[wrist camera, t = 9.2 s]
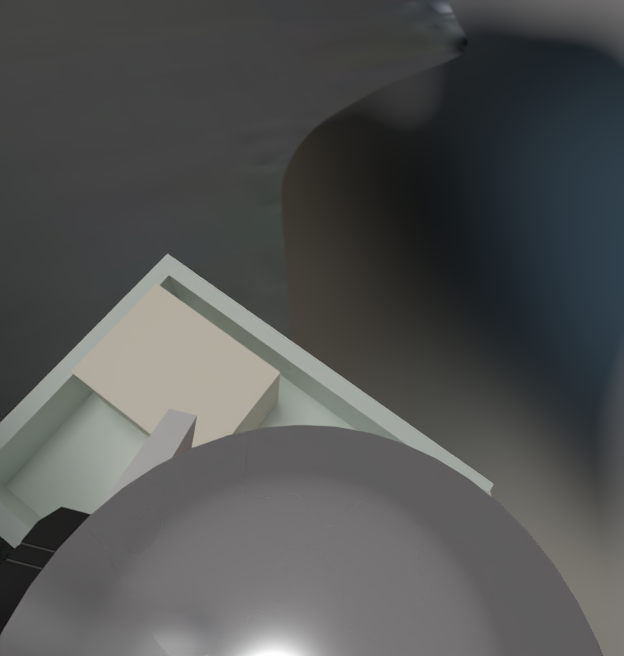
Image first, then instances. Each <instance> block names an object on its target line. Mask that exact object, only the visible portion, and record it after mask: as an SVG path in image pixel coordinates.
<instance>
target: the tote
mask: <svg viewBox="0 0 624 656" xmlns="http://www.w3.org/2000/svg"><path fill="white" fill-rule="evenodd" d="M156 283H157V284H158V285H160V286H161V287H163V288H164V289H165V290H167V291H168V292H170V293H171V294H172V295H174V296H175V297H176V298H178V299H179V300H181V301H182V302H183V303H185V304H186V305H188V306H189V307H190V308H192V309H193V310H195V311H196V312H197V313H199V314H200V315H201V316H203V317H204V318H206V319H207V320H208V321H210V322H211V323H213V324H214V325H215V326H217V327H218V328H220V329H221V330H222V331H224V332H225V333H226V334H228V335H229V336H231V337H232V338H233V339H235V340H236V341H238V342H239V343H240V344H242V345H243V346H244V347H246V348H247V349H249V350H250V351H251V352H253V353H254V354H256V355H257V356H258V357H260V358H261V359H263V360H264V361H265V362H267V363H268V364H269V365H271V366H272V367H274V368H275V369H276V370H278V371H279V372H280V382H279V392H278V402H277V404H276V405H275V407H274V408H273V409H272V411H271V412H270V413H269V414H268V416H267V417H266V418H265V420H264V421H263V422H262V424H261V425H260V426H259V427H258V429H260V428H266V427H278V426H290V425H314V426H335V427H341V428H346V429H352V430H357V431H363V432H368V433H372V434H375V435H378V436H382V437H385V438H388V439H391V440H394V441H397V442H401V443H404V444H406V445H408V446H410V447H412V448H415V449H417V450H419V451H421V452H423V453H425V454H428V455H430V456H432V457H434V458H436V459H438V460H440V461H441V462H443V463H445V464H446V465H448V466H449V467H451V468H453V469H454V470H456V471H457V472H459V473H461V474H462V475H464V476H465V477H467V478H469V479H470V480H471V481H472V482H474V483H475V484H476V485H477V486H479V487H480V488H481V489H483V490H486V491H490V490H491V488H492V486H493V483H492V482H490V481H489V480H487V479H486V478H485V477H483V476H482V475H480V474H479V473H477V472H476V471H475V470H473V469H472V468H470V467H469V466H468V465H466V464H465V463H463V462H462V461H460V460H459V459H458V458H456V457H455V456H453V455H452V454H451V453H449V452H448V451H446V450H445V449H443V448H442V447H441V446H439V445H438V444H436V443H435V442H434V441H432V440H431V439H429V438H428V437H426V436H425V435H424V434H422V433H421V432H419V431H418V430H417V429H415V428H414V427H412V426H411V425H409V424H408V423H407V422H405V421H404V420H402V419H401V418H400V417H398V416H397V415H395V414H394V413H392V412H391V411H390V410H388V409H387V408H385V407H384V406H383V405H381V404H380V403H378V402H377V401H375V400H374V399H373V398H371V397H370V396H368V395H367V394H365V393H364V392H363V391H361V390H360V389H358V388H357V387H356V386H354V385H353V384H351V383H350V382H348V381H347V380H346V379H344V378H343V377H341V376H340V375H339V374H337V373H335V372H334V371H333V370H332V369H330V368H329V367H327V366H326V365H324V364H323V363H322V362H320V361H319V360H317V359H316V358H315V357H313V356H312V355H310V354H309V353H307V352H306V351H305V350H303V349H302V348H300V347H299V346H298V345H296V344H294V343H293V342H292V341H290V340H289V339H288V338H286V337H285V336H283V335H282V334H281V333H279V332H278V331H276V330H275V329H274V328H272V327H271V326H269V325H268V324H266V323H265V322H264V321H262V320H261V319H259V318H258V317H257V316H255V315H254V314H252V313H251V312H249V311H248V310H247V309H245V308H244V307H242V306H241V305H240V304H238V303H237V302H235V301H234V300H232V299H231V298H230V297H228V296H227V295H225V294H224V293H223V292H221V291H220V290H218V289H217V288H215V287H214V286H213V285H211V284H210V283H208V282H207V281H206V280H204V279H203V278H201V277H200V276H198V275H197V274H196V273H194V272H193V271H191V270H190V269H189V268H187V267H186V266H184V265H183V264H181V263H180V262H179V261H177V260H176V259H174V258H173V257H172V256H170V255H169V254H167V255H166V256H165V257H164V258H163V259H162V260H161V261H160V262H159V263H158V264H157V265H156V266H155V267H154V268H153V269H152V270H151V271H150V272H149V273H148V274H147V275H146V276H145V277H144V278H143V279H142V280H141V281H140V282H139V283H138V284H137V285H136V286H135V287H134V288H133V289H132V290H131V291H130V292H129V293H128V294H127V295H126V296H125V297H124V298H123V299H122V300H121V301H120V302H119V303H118V304H117V305H116V306H115V307H114V308H113V309H112V310H111V311H110V312H109V313H108V314H107V315H106V316H105V317H104V318H103V319H102V320H101V321H100V322H99V323H98V324H97V325H96V326H95V327H94V328H93V329H92V331H91V332H90V333H89V334H88V335H87V336H86V337H85V338H84V339H83V340H82V341H81V342H80V343H79V344H78V345H77V346H76V347H75V348H74V349H73V350H72V351H71V352H70V353H69V354H68V355H67V356H66V357H65V358H64V359H63V360H62V361H61V362H60V363H59V364H58V365H57V366H56V367H55V368H54V369H53V370H52V371H51V372H50V373H49V374H48V375H47V376H46V377H45V378H44V379H43V380H42V381H41V382H40V383H39V384H38V385H37V386H36V387H35V388H34V389H33V390H32V391H31V392H30V393H29V394H28V395H27V396H26V397H25V398H24V399H23V400H22V401H21V402H20V403H19V404H18V405H17V406H16V407H15V408H14V409H13V410H12V411H11V412H10V413H9V414H8V415H7V416H6V417H5V418H4V419H3V420H2V421H1V422H0V536H1V537H2V538H3V539H4V540H5V541H7V542H8V543H9V544H10V545H11V546H12V547H13V548H16V547H17V545H20V543H21V541H22V539H23V538H24V537H25V536H26V535H27V534H28V532H29V531H30V530H31V529H32V528H33V526H34V525H35V524H36V523H37V522H38V521H39V520H41V519H42V518H44V517H45V516H47V515H49V514H50V513H52V512H54V511H55V510H57V509H58V508H60V507H65V508H69V509H73V510H77V511H80V512H84V513H88V514H92V513H93V512H95V511H96V510H97V509H98V508H99V506H100V505H101V503H102V502H103V501H104V499H105V498H106V496H107V495H108V494H109V492H110V491H111V489H112V488H113V487H114V485H115V484H116V482H117V481H118V480H119V478H120V477H121V475H122V474H123V473H124V471H125V470H126V468H127V467H128V466H129V464H130V463H131V461H132V460H133V459H134V457H135V456H136V454H137V453H138V452H139V450H140V449H141V447H142V446H143V445H144V443H145V442H146V440H147V439H148V438H149V437H148V436H147V435H145V434H144V433H143V432H141V431H140V430H139V429H138V428H136V427H135V426H134V425H132V424H131V423H130V422H129V421H127V420H126V419H125V418H124V417H122V416H121V415H120V414H118V413H117V412H116V411H115V410H113V409H112V408H111V407H109V406H108V405H107V404H106V403H104V402H103V401H102V400H101V399H100V398H99V397H98V396H97V395H96V394H95V393H93V392H92V391H91V390H90V389H89V388H88V387H87V386H86V385H85V384H84V383H82V382H81V381H80V380H79V379H78V378H77V377H76V376H75V375H74V374H73V373H71V370H72V369H73V368H74V367H75V366H76V365H77V364H78V363H79V362H80V361H81V360H82V359H83V358H84V357H85V356H86V355H87V354H88V353H89V352H90V351H91V350H92V349H93V348H94V347H95V346H96V345H97V344H98V343H99V342H100V341H101V340H102V339H103V338H104V337H105V336H106V334H107V333H108V332H109V331H110V330H111V329H112V328H113V327H114V326H115V325H116V324H117V323H118V322H119V321H120V320H121V319H122V318H123V317H124V316H125V315H126V314H127V313H128V312H129V311H130V310H131V309H132V308H133V307H134V306H135V305H136V304H137V303H138V302H139V301H140V300H141V299H142V297H143V296H144V295H145V294H146V293H147V292H148V291H149V290H150V289H151V288H152V287H153V286H154V285H155V284H156Z"/></svg>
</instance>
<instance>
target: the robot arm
mask: <svg viewBox="0 0 624 656" xmlns="http://www.w3.org/2000/svg"><path fill="white" fill-rule="evenodd" d="M196 419H197V416H196V415H192V414H188V413H184V412H181V411H177V410H173V409H168V411H167V412H166V414H165V415H164V416H163V418H162V419H161V421H160V422H159V423H158V425H157V426H156V428H155V429H154V430H153V432H152V433H151V435H150V436H149V438H148V439H147V440H146V442H145V443H144V445H143V446H142V447H141V449H140V450H139V452H138V453H137V454H136V456H135V457H134V459H133V460H132V461H131V463H130V464H129V466H128V467H127V468H126V470H125V471H124V473H123V474H122V475H121V477H120V478H119V480H118V481H117V482H116V484H115V485H114V487H113V488H112V489H111V491H110V492H109V494H108V495H107V496H106V498H105V499H104V501H103V502H102V503H101V505H100V506H99V507H101V506H102V505H103V504H104V503H105V502H107V501H108V500H109V499H110V498H111V497H112V496H114V495H115V494H116V493H117V492H118V491H120V490H121V489H122V488H123V487H125V486H126V485H128V484H129V483H131V482H132V481H134V480H136V479H137V478H139V477H140V476H142V475H143V474H145V473H146V472H148V471H149V470H151V469H152V468H154V467H155V466H157V465H159V464H161V463H163V462H165V461H167V460H169V459H171V458H173V457H175V456H177V455H179V454H181V453H183V452H185V451H187V450H189V449H191V448H192V443H193V437H194V431H195V425H196ZM482 490H483V489H482ZM484 491H485V492H486V493H488V494H489V495H490V496H491V493H490V491H486V490H484ZM491 497H492V496H491ZM90 515H91V514H88V513H84V512H80V511H77V510H73V509H69V508H65V507H60V508H58V509H57V510H55V511H54V512H52V513H50V514H49V515H47V516H45V517H44V518H42V519H41V520H39V521H38V522H37V523H36V524H35V525H34V526H33V528H32V529H31V530H30V531H29V532H28V534H27V535H26V536H25V537H24V538H23V539H22V541H21V543H20V545H17V547H16V548H15V549H14V550H13V551H12V553H11V554H10V555H9V556H8V557H7V560H6V562H3V563H2V564H1V566H0V635H1V633H2V631H3V629H4V628H5V626H6V624H7V623H8V621H9V619H10V618H11V616H12V615H13V613H14V611H15V610H16V608H17V606H18V605H19V603H20V601H21V600H22V598H23V596H24V595H25V593H26V591H27V590H28V588H29V587H30V585H31V584H32V583H33V581H34V580H35V579H36V577H37V576H38V575H39V573H40V572H41V571H42V569H43V568H44V567H45V565H46V564H47V563H48V562H49V560H50V559H51V558H52V556H53V555H54V554H55V552H56V551H57V550H58V548H59V547H60V546H61V545H62V544H63V543H64V542H65V541H66V540H67V539H68V538H69V537H70V536H71V535H72V534H73V533H74V532H75V531H76V530H77V528H78V527H79V526H80V525H81V524H82V523H83V522H84V521H85V520H86V519H87V518H88V517H89V516H90Z"/></svg>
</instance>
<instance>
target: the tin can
mask: <svg viewBox="0 0 624 656" xmlns="http://www.w3.org/2000/svg"><path fill="white" fill-rule="evenodd" d="M0 656H603V655H602V652H601V649H600V646H599V644H598V642H597V640H596V638H595V636H594V634H593V632H592V630H591V628H590V626H589V624H588V622H587V620H586V618H585V616H584V614H583V612H582V610H581V608H580V606H579V604H578V602H577V600H576V599H575V597H574V595H573V594H572V592H571V591H570V589H569V587H568V586H567V584H566V583H565V581H564V580H563V578H562V577H561V575H560V573H559V572H558V570H557V569H556V567H555V565H554V564H553V563H552V561H551V560H550V559H549V558H548V556H546V554H545V553H544V551H543V550H542V549H541V548H540V546H539V545H538V544H537V543H536V541H535V540H534V539H533V538H532V536H531V535H530V534H529V533H528V532H527V530H526V529H525V528H524V527H523V526H522V525H521V524H520V523H519V522H518V521H517V520H516V519H515V518H514V517H513V516H512V515H511V514H510V513H509V512H508V511H507V510H506V509H505V508H504V507H503V506H502V505H501V504H500V503H499V502H498V501H496V500H495V499H494V498H493V497H491V496H490V495H489V494H488V493H486V492H485V491H484V490H482V489H481V488H480V487H479V486H477V485H476V484H475V483H474V482H472V481H471V480H470V479H469V478H467V477H465V476H464V475H462V474H461V473H459V472H457V471H456V470H454V469H453V468H451V467H449V466H448V465H446V464H445V463H443V462H441V461H440V460H438V459H436V458H434V457H432V456H430V455H428V454H425V453H423V452H421V451H419V450H417V449H415V448H412V447H410V446H408V445H406V444H404V443H401V442H397V441H394V440H391V439H388V438H385V437H382V436H378V435H375V434H372V433H368V432H363V431H357V430H352V429H346V428H341V427H335V426H314V425H290V426H278V427H266V428H260V429H255V430H251V431H246V432H241V433H237V434H232V435H227V436H225V437H222V438H219V439H216V440H213V441H210V442H208V443H205V444H202V445H199V446H196V447H193V448H191V449H189V450H187V451H185V452H183V453H181V454H179V455H177V456H175V457H173V458H171V459H169V460H167V461H165V462H163V463H161V464H159V465H157V466H155V467H154V468H152V469H151V470H149V471H148V472H146V473H145V474H143V475H142V476H140V477H139V478H137V479H136V480H134V481H132V482H131V483H129V484H128V485H126V486H125V487H123V488H122V489H121V490H120V491H118V492H117V493H116V494H115V495H114V496H112V497H111V498H110V499H109V500H108V501H107V502H105V503H104V504H103V505H102V506H101V507H99V508H98V509H97V510H96V511H95V512H93V513H92V514H91V515H90V516H89V517H88V518H87V519H86V520H85V521H84V522H83V523H82V524H81V525H80V526H79V527H78V528H77V530H76V531H75V532H74V533H73V534H72V535H71V536H70V537H69V538H68V539H67V540H66V541H65V542H64V543H63V544H62V545H61V546H60V547H59V548H58V550H57V551H56V552H55V554H54V555H53V556H52V558H51V559H50V560H49V562H48V563H47V564H46V565H45V567H44V568H43V569H42V571H41V572H40V573H39V575H38V576H37V577H36V579H35V580H34V581H33V583H32V584H31V585H30V587H29V588H28V590H27V591H26V593H25V595H24V596H23V598H22V600H21V601H20V603H19V605H18V606H17V608H16V610H15V611H14V613H13V615H12V616H11V618H10V619H9V621H8V623H7V624H6V626H5V628H4V629H3V631H2V633H1V635H0Z"/></svg>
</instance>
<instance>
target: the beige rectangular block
mask: <svg viewBox="0 0 624 656" xmlns="http://www.w3.org/2000/svg"><path fill="white" fill-rule="evenodd" d="M71 373H73V374H74V375H75V376H76V377H77V378H78V379H79V380H80V381H81V382H82V383H84V384H85V385H86V386H87V387H88V388H89V389H90V390H91V391H92V392H93V393H95V394H96V395H97V396H98V397H99V398H100V399H101V400H102V401H103V402H104V403H106V404H107V405H108V406H109V407H111V408H112V409H113V410H115V411H116V412H117V413H118V414H120V415H121V416H122V417H124V418H125V419H126V420H127V421H129V422H130V423H131V424H132V425H134V426H135V427H136V428H138V429H139V430H140V431H141V432H143V433H144V434H145V435H147V436H148V437H149V436H150V435H151V433H152V432H153V430H154V429H155V428H156V426H157V425H158V423H159V422H160V421H161V419H162V418H163V416H164V415H165V414H166V412H167V411H168V409H173V410H177V411H181V412H184V413H188V414H192V415H196V416H197V419H196V425H195V431H194V437H193V443H192V448H193V447H196V446H199V445H202V444H205V443H208V442H210V441H213V440H216V439H219V438H222V437H225V436H227V435H232V434H237V433H241V432H246V431H251V430H255V429H258V427H259V426H260V425H261V424H262V422H263V421H264V420H265V418H266V417H267V416H268V414H269V413H270V412H271V411H272V409H273V408H274V407H275V405H276V404H277V402H278V392H279V382H280V372H279V371H278V370H276V369H275V368H274V367H272V366H271V365H269V364H268V363H267V362H265V361H264V360H263V359H261V358H260V357H258V356H257V355H256V354H254V353H253V352H251V351H250V350H249V349H247V348H246V347H244V346H243V345H242V344H240V343H239V342H238V341H236V340H235V339H233V338H232V337H231V336H229V335H228V334H226V333H225V332H224V331H222V330H221V329H220V328H218V327H217V326H215V325H214V324H213V323H211V322H210V321H208V320H207V319H206V318H204V317H203V316H201V315H200V314H199V313H197V312H196V311H195V310H193V309H192V308H190V307H189V306H188V305H186V304H185V303H183V302H182V301H181V300H179V299H178V298H176V297H175V296H174V295H172V294H171V293H170V292H168V291H167V290H165V289H164V288H163V287H161V286H160V285H158V284H157V283H156V284H155V285H154V286H153V287H152V288H151V289H150V290H149V291H148V292H147V293H146V294H145V295H144V296H143V297H142V299H141V300H140V301H139V302H138V303H137V304H136V305H135V306H134V307H133V308H132V309H131V310H130V311H129V312H128V313H127V314H126V315H125V316H124V317H123V318H122V319H121V320H120V321H119V322H118V323H117V324H116V325H115V326H114V327H113V328H112V329H111V330H110V331H109V332H108V333H107V334H106V336H105V337H104V338H103V339H102V340H101V341H100V342H99V343H98V344H97V345H96V346H95V347H94V348H93V349H92V350H91V351H90V352H89V353H88V354H87V355H86V356H85V357H84V358H83V359H82V360H81V361H80V362H79V363H78V364H77V365H76V366H75V367H74V368H73V369H72V370H71Z"/></svg>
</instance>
